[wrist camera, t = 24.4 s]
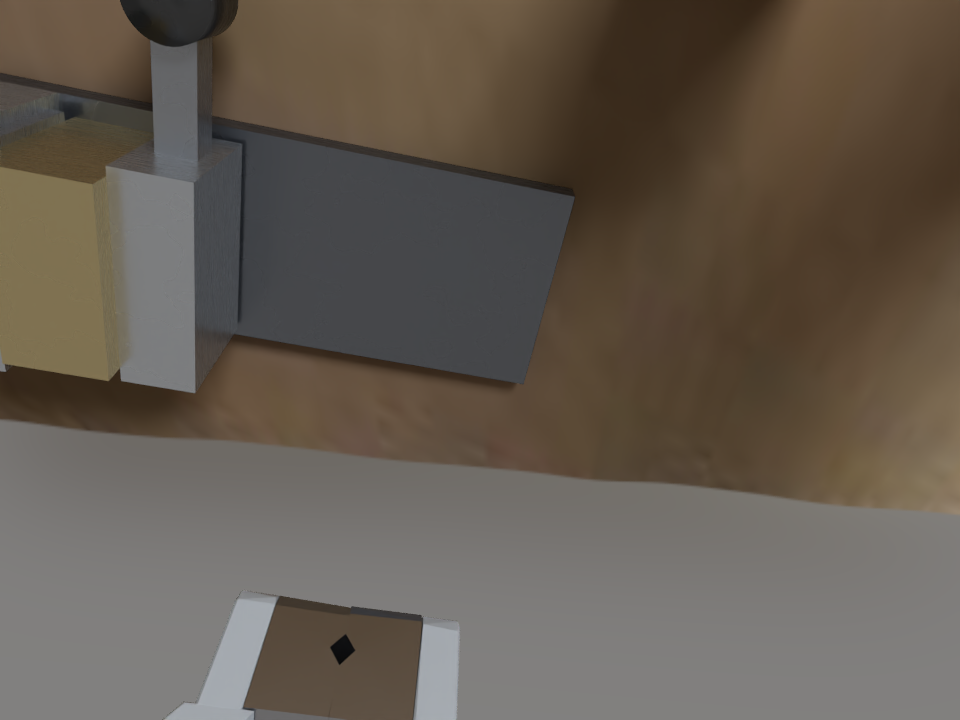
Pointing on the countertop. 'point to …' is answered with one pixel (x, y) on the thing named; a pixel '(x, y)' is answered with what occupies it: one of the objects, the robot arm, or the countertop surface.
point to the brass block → (60, 248)
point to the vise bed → (363, 241)
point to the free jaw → (176, 208)
